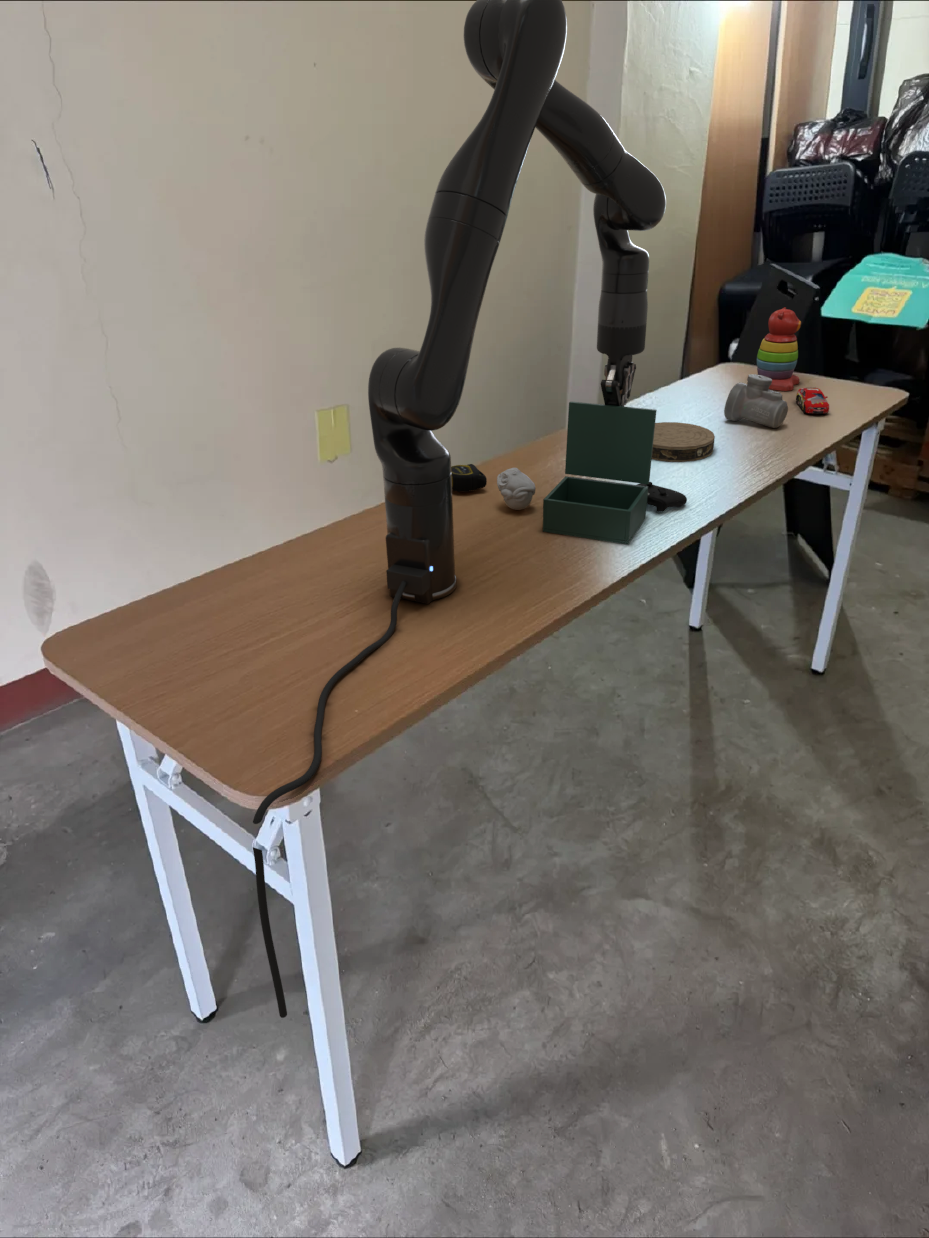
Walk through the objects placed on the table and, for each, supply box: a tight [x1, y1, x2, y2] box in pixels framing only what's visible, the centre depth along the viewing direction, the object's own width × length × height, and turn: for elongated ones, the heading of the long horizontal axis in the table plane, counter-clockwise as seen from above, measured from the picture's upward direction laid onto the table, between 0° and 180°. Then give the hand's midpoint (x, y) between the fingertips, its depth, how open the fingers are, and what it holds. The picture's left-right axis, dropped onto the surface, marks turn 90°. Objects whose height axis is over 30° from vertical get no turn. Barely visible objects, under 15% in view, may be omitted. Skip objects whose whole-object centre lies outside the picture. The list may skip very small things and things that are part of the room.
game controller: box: [636, 481, 688, 513], centre depth 148 cm, size 10×5×6 cm
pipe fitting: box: [723, 373, 789, 429], centre depth 184 cm, size 12×8×10 cm
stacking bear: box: [756, 307, 802, 392], centre depth 209 cm, size 11×10×18 cm
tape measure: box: [451, 463, 488, 493], centre depth 157 cm, size 7×7×4 cm
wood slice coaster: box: [652, 421, 716, 463], centre depth 173 cm, size 16×16×3 cm
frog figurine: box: [496, 467, 536, 511], centre depth 147 cm, size 6×7×7 cm
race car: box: [795, 387, 830, 415], centre depth 194 cm, size 13×5×4 cm, turn 171°
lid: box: [564, 401, 657, 484], centre depth 141 cm, size 12×14×1 cm
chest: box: [542, 475, 648, 545], centre depth 141 cm, size 11×14×6 cm
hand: (615, 428), depth 143 cm, fingers closed
